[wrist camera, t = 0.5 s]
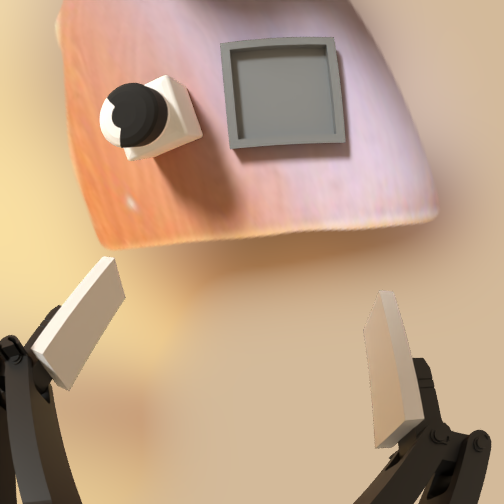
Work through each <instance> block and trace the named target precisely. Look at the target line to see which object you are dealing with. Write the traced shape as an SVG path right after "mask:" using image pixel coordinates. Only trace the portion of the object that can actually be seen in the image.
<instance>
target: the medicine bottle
mask: <svg viewBox="0 0 504 504" xmlns="http://www.w3.org/2000/svg"><path fill="white" fill-rule="evenodd" d="M100 127H101V130H102V133H103V135H104V137H105V138H106V139H107V140H108V141H109V142H110V143H111V144H113V145H115V146H117V147H121V148H124V150H125V153H126V156H127V159H128V160H129V161H135V160H141V159H147V158H153V157H156V156H158V155H161V154H163V153H165V152H168V151H170V150H172V149H175V148H177V147H179V146H182V145H184V144H187V143H189V142H192V141H194V140H197V139H199V138H201V137H202V136H203V133H202V131H201V128H200V125H199V122H198V119H197V116H196V114H195V111H194V108H193V105H192V102H191V100H190V97H189V94H188V91H187V88H186V86H184V85H183V84H181V83H179V82H178V81H176V80H174V79H173V78H171V77H169V76H168V75H164V76H162V77H160V78H158V79H156V80H153V81H151V82H149V83H147V84H145V85H142V84H139V83H128V84H124V85H122V86H120V87H118V88H116V89H115V90H114V91H112V92H111V93H110V94H109V96H108V97H107V98H106V100H105V102H104V104H103V106H102V109H101V113H100Z"/></svg>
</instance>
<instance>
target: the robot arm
mask: <svg viewBox="0 0 504 504" xmlns="http://www.w3.org/2000/svg"><path fill="white" fill-rule="evenodd" d="M125 298H126V297H125V294H124V291H123V287H122V284H121V280H120V277H119V273H118V270H117V265H116V262H115V258H112V257H105V256H103V257H102V258H101V259H100V260H99V262H98V263H97V264H96V265H95V266H94V267H93V269H92V270H91V271H90V272H89V273H88V274H87V276H86V277H85V278H84V279H83V280H82V281H81V283H80V284H79V285H78V286H77V288H76V289H75V290H74V291H73V292H72V294H71V295H70V296H69V298H68V299H67V300H66V301H65V302H64V304H63V305H62V306H60V305H58V306H57V307H55V308H54V309H52V310H51V311H50V312H49V314H48V315H47V316H46V318H45V320H43V321H42V323H41V324H40V326H39V327H38V328H37V329H36V331H35V332H34V334H33V335H32V336H31V337H30V339H29V340H28V342H27V343H26V344H25V346H24V347H23V346H22V344H21V343H20V341H19V340H18V338H17V337H16V336H13V335H8V336H6V337H4V338H3V339H2V340H1V341H0V504H17V498H16V478H17V482H18V487H19V491H20V495H21V498H22V502H23V504H82V502H81V499H80V496H79V494H78V491H77V488H76V485H75V482H74V479H73V476H72V473H71V470H70V466H69V463H68V460H67V456H66V452H65V449H64V445H63V441H62V437H61V432H60V428H59V423H58V419H57V414H56V409H55V403H54V397H53V391H52V386H51V384H50V382H51V380H52V379H53V380H54V382H55V383H56V384H57V385H58V386H60V387H62V388H64V389H66V390H68V391H70V389H71V387H72V385H73V384H74V382H75V380H76V378H77V377H78V375H79V373H80V371H81V369H82V368H83V366H84V364H85V362H86V361H87V359H88V357H89V356H90V354H91V352H92V351H93V349H94V347H95V345H96V344H97V342H98V341H99V339H100V337H101V336H102V334H103V332H104V331H105V329H106V328H107V326H108V324H109V322H110V321H111V320H112V318H113V316H114V315H115V313H116V312H117V310H118V309H119V306H120V305H121V304H122V302H123V301H124V299H125ZM363 331H364V338H365V344H366V353H367V360H368V369H369V377H370V387H371V397H372V408H373V421H374V438H375V448H390V447H393V446H394V445H396V444H397V443H398V446H399V450H398V451H396V452H395V453H394V454H392V455H391V456H390V457H389V459H391V460H390V461H389V462H388V464H387V465H386V466H385V468H384V469H383V470H382V471H381V473H380V474H379V475H378V476H377V477H376V479H375V480H374V481H373V482H372V483H371V484H370V486H369V487H368V488H367V489H366V490H365V491H364V492H363V494H362V495H361V496H360V497H359V498H358V499H357V500H356V501H355V502H354V503H353V504H414V502H415V501H416V500H417V498H418V497H419V495H420V494H421V492H422V491H423V489H424V488H425V489H424V492H423V494H422V497H421V499H420V501H419V504H477V503H478V500H479V497H480V493H481V490H482V486H483V482H484V479H485V474H486V470H487V465H488V460H489V456H490V451H491V439H490V436H489V435H488V434H487V433H486V432H485V431H483V430H476V431H474V432H472V433H471V434H470V435H466V434H461V433H457V432H453V431H451V430H450V427H449V426H448V425H446V423H443V421H442V419H441V415H440V410H439V405H438V400H437V395H436V391H435V389H434V382H433V380H432V374H431V370H430V367H429V366H428V364H427V363H426V361H425V360H424V358H412V356H411V351H410V348H409V344H408V340H407V336H406V332H405V328H404V325H403V321H402V318H401V314H400V311H399V308H398V305H397V301H396V298H395V295H394V292H393V291H382V290H379V292H378V294H377V297H376V300H375V302H374V305H373V307H372V310H371V313H370V315H369V318H368V320H367V322H366V325H365V327H364V330H363ZM15 474H16V478H15ZM425 486H426V487H425Z"/></svg>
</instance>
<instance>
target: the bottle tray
mask: <svg viewBox="0 0 504 504" xmlns="http://www.w3.org/2000/svg"><path fill="white" fill-rule="evenodd" d="M220 48H221V59H222V71H223V82H224V92H225V103H226V114H227V124H228V134H229V145H230V149H236V148H246V147H258V146H271V145H286V144H306V143H346V142H345V128H344V116H343V105H342V95H341V86H340V78H339V70H338V62H337V55H336V48H335V42H334V37H286V38H267V39H255V40H245V41H236V42H228V43H221V44H220Z"/></svg>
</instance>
